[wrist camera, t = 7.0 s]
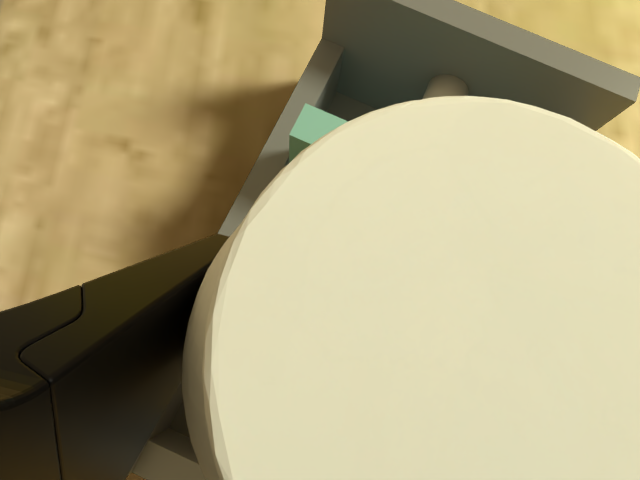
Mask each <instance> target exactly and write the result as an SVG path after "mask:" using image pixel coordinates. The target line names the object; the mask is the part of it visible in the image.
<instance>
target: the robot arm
mask: <svg viewBox="0 0 640 480" xmlns="http://www.w3.org/2000/svg"><path fill="white" fill-rule="evenodd" d="M228 238H229V236H225V235H221V234H215V235H212V236H210V237H207V238H204V239H201V240H199V241H196V242H193V243H191V244H188V245H185V246H183V247H180V248H177V249H175V250H172V251H169V252H167V253H164V254H161V255H158V256H156V257H153V258H150V259H148V260H145V261H142V262H140V263H137V264H134V265H132V266H129V267H126V268H124V269H121V270H118V271H115V272H113V273H110V274H107V275H105V276H102V277H99V278H97V279H94V280H91V281H88V282H86V283H83V284H82V287H81V286H80V285H77V286H75V287H72V288H69V289H67V290H64V291H61V292H59V293H56V294H53V295H50V296H47V297H44V298H41V299H39V300H36V301H33V302H30V303H27V304H24V305H21V306H17V307H14V308H11V309H8V310H4V311H1V312H0V480H125V479H126V477H127V476H128V474H129V472H130V470H131V469H132V467H133V465H134V463H135V462H136V460H137V458H138V456H139V455H140V453H141V451H142V449H143V448H144V446H145V444H146V442H147V441H148V439H149V437H150V435H151V434H152V432H153V430H154V428H155V427H156V425H157V423H158V421H159V419H160V418H161V416H162V414H163V412H164V411H165V409H166V407H167V405H168V404H169V402H170V400H171V398H172V397H173V395H174V393H175V391H176V390H177V388H178V386H179V384H180V383H181V381H182V360H183V349H184V343H185V337H186V332H187V327H188V322H189V318H190V315H191V311H192V308H193V305H194V302H195V299H196V296H197V293H198V291H199V288H200V286H201V284H202V281H203V279H204V277H205V274H206V272H207V270H208V268H209V267H210V265H211V263H212V262H213V260H214V258H215V257H216V255H217V253H218V252H219V250H220V249H221V248H222V246H223V245H224V243H225V242H226V241H227V239H228Z"/></svg>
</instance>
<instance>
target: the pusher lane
mask: <svg viewBox="0 0 640 480" xmlns="http://www.w3.org/2000/svg"><path fill="white" fill-rule="evenodd" d="M639 88H640V77H638V76H636V75H633V74H631V73H628V72H626V71H623V70H621V69H619V68H616V67H614V66H611V65H609V64H606V63H604V62H602V61H599V60H597V59H594V58H592V57H590V56H587V55H585V54H582V53H580V52H577V51H575V50H573V49H570V48H568V47H565V46H563V45H560V44H558V43H556V42H553V41H551V40H548V39H546V38H544V37H541V36H539V35H536V34H534V33H531V32H529V31H527V30H524V29H522V28H519V27H517V26H514V25H512V24H510V23H507V22H505V21H502V20H500V19H498V18H495V17H493V16H490V15H488V14H485V13H483V12H481V11H478V10H476V9H473V8H471V7H469V6H466V5H464V4H461V3H459V2H456V1H454V0H326V5H325V15H324V24H323V33H322V39H321V41H320V43H319V44H318V46H317V48H316V50H315V52H314V54H313V56H312V58H311V59H310V61H309V63H308V65H307V67H306V69H305V71H304V73H303V74H302V76H301V78H300V80H299V82H298V84H297V86H296V88H295V89H294V91H293V93H292V95H291V97H290V99H289V101H288V103H287V104H286V106H285V108H284V110H283V112H282V114H281V116H280V118H279V119H278V121H277V123H276V125H275V127H274V129H273V131H272V133H271V134H270V136H269V138H268V140H267V142H266V144H265V146H264V148H263V149H262V151H261V153H260V155H259V157H258V159H257V161H256V163H255V164H254V166H253V168H252V170H251V172H250V174H249V176H248V178H247V179H246V181H245V183H244V185H243V187H242V189H241V191H240V193H239V194H238V196H237V198H236V200H235V202H234V204H233V206H232V208H231V209H230V211H229V213H228V215H227V217H226V219H225V221H224V223H223V224H222V226H221V228H220V230H219V232H218V234H221V235H225V236H229V237H230V236H231V235H232V233H233V232H234V231H235V230H236V229H237V227H238V226H239V225H240V224H241V223H242V221H243V220H244V218H245V217H246V215H247V214H248V212H249V210H250V209H251V207H252V206H253V204H254V203H255V201H256V200H257V198H258V197H259V195H260V194H261V192H262V191H263V190H264V189H265V188H266V187H267V186H268V184H269V183H270V182H271V181H272V180H273V179H274V178H275V177H276V175H277V174H278V173H279V172H280V171H281V170H282V169H283V168H284V167H285V166H286V165H288V164H289V134H290V132H291V130H292V128H293V126H294V125H295V123H296V121H297V119H298V117H299V115H300V113H301V111H302V109H303V107H304V105H305V103H306V104H309V105H311V106H313V107H316V108H318V109H320V110H323V111H325V112H327V113H330V114H332V115H334V116H337V117H339V118H341V119H344V120H346V121H351V120H353V119H355V118H357V117H360V116H362V115H364V114H366V113H369V112H372V111H375V110H378V109H381V108H385V107H388V106H391V105H394V104H399V103H403V102H408V101H413V100H422V99H427V98H433V97H444V96H477V97H489V98H498V99H507V100H511V101H515V102H519V103H523V104H528V105H532V106H536V107H539V108H542V109H545V110H548V111H551V112H554V113H557V114H560V115H563V116H566V117H569V118H571V119H573V120H575V121H577V122H579V123H581V124H583V125H585V126H587V127H589V128H590V129H592V130H594V131H596V130H598V129H599V128H600V127H602V126H603V125H605V124H606V123H607V122H609V121H610V120H611V119H613V118H614V117H616V116H617V115H618V114H620V113H621V112H623V111H624V110H625V109H627V108H628V107H629V106H631V105H632V104H634V103H635V102H636V99H637V95H638V91H639ZM131 473H134V474H136V475H138V476H140V477H142V478H144V479H146V480H206V479H205V476H204V474H203V472H202V470H201V467H200V465H199V462H198V460H197V457H196V454H195V452H194V449H193V446H192V443H191V439H190V435H189V430H188V426H187V422H186V415H185V408H184V401H183V394H182V381H181V383H180V384H179V386H178V388H177V390H176V391H175V393H174V395H173V397H172V398H171V400H170V402H169V404H168V405H167V407H166V409H165V411H164V412H163V414H162V416H161V418H160V419H159V421H158V423H157V425H156V427H155V428H154V430H153V432H152V434H151V435H150V437H149V439H148V441H147V442H146V444H145V446H144V448H143V449H142V451H141V453H140V455H139V456H138V458H137V460H136V462H135V463H134V465H133V467H132V469H131V470H130V472H129V474H131ZM129 474H128V475H129Z"/></svg>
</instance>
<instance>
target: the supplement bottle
mask: <svg viewBox="0 0 640 480" xmlns="http://www.w3.org/2000/svg"><path fill="white" fill-rule="evenodd" d="M182 394H183V401H184V408H185V415H186V422H187V426H188V430H189V435H190V439H191V443H192V446H193V449H194V452H195V454H196V457H197V460H198V462H199V465H200V467H201V470H202V472H203V474H204V476H205V479H206V480H640V159H639V158H638V157H637V156H636V155H634V154H633V153H632V152H630V151H629V150H627V149H625V148H624V147H622V146H621V145H619V144H617V143H616V142H614V141H613V140H611V139H609V138H608V137H606V136H604V135H602V134H600V133H598V132H596V131H594V130H592V129H590V128H589V127H587V126H585V125H583V124H581V123H579V122H577V121H575V120H573V119H571V118H569V117H566V116H563V115H560V114H557V113H554V112H551V111H548V110H545V109H542V108H539V107H536V106H532V105H528V104H523V103H519V102H515V101H511V100H507V99H498V98H489V97H477V96H444V97H433V98H427V99H422V100H413V101H408V102H403V103H399V104H394V105H391V106H388V107H385V108H381V109H378V110H375V111H372V112H369V113H366V114H364V115H362V116H360V117H357V118H355V119H353V120H351V121H348V122H346V123H344V124H343V125H341V126H339V127H337V128H336V129H334V130H332V131H331V132H329V133H327V134H325V135H324V136H322V137H321V138H319V139H318V140H316V141H315V142H314V143H312V144H311V145H309V146H308V147H307V148H305V149H304V150H302V151H301V152H300V153H299V154H298V155H297V156H296V157H295V158H294V159H293V160H292V161H291V162H290V163H289V164H288V165H286V166H285V167H284V168H283V169H282V170H281V171H280V172H279V173H278V174H277V175H276V177H275V178H274V179H273V180H272V181H271V182H270V183H269V184H268V186H267V187H266V188H265V189H264V190H263V191H262V192H261V194H260V195H259V197H258V198H257V200H256V201H255V203H254V204H253V206H252V207H251V209H250V210H249V212H248V214H247V215H246V217H245V218H244V220H243V221H242V223H241V224H240V225H239V226H238V227H237V229H236V230H235V231H234V232H233V233H232V235H231V236H230V237H229V238H228V239H227V241H226V242H225V243H224V245H223V246H222V248H221V249H220V250H219V252H218V253H217V255H216V257H215V258H214V260H213V262H212V263H211V265H210V267H209V268H208V270H207V272H206V274H205V277H204V279H203V281H202V284H201V286H200V288H199V291H198V293H197V296H196V299H195V302H194V305H193V308H192V311H191V315H190V318H189V322H188V327H187V332H186V337H185V343H184V349H183V360H182Z"/></svg>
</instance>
